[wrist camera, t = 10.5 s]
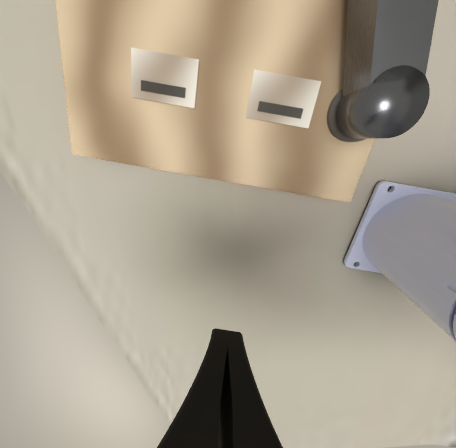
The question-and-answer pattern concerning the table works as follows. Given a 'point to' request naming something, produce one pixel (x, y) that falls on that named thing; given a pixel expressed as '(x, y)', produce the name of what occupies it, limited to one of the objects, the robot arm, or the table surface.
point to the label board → (213, 90)
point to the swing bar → (385, 67)
